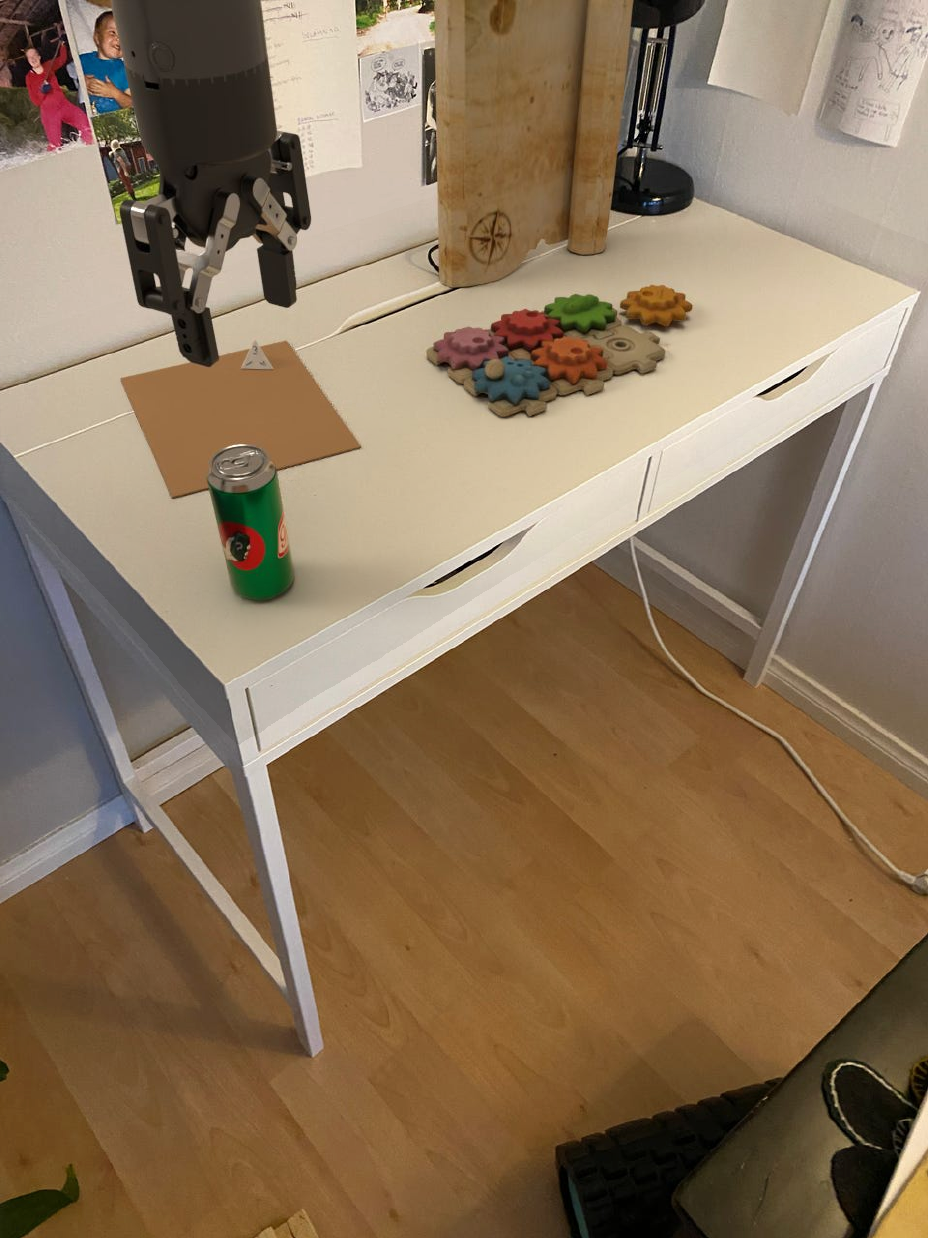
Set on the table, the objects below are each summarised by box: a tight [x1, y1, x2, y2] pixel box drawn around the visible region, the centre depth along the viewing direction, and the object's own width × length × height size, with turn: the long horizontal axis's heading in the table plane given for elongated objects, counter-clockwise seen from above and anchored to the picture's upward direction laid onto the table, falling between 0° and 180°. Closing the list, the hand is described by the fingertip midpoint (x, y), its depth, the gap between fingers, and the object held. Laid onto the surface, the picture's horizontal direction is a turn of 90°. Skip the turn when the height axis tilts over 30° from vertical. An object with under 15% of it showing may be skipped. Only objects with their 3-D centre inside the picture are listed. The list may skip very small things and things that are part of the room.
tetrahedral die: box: [241, 339, 274, 370], centre depth 100 cm, size 4×3×3 cm
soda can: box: [207, 444, 295, 601], centre depth 73 cm, size 5×5×12 cm
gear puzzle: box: [426, 284, 694, 417], centre depth 102 cm, size 31×16×4 cm, turn 123°
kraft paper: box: [120, 340, 362, 500], centre depth 95 cm, size 18×22×1 cm
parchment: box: [433, 0, 634, 289], centre depth 108 cm, size 23×6×30 cm, turn 117°
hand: (243, 331), depth 62 cm, fingers open, 8 cm apart
